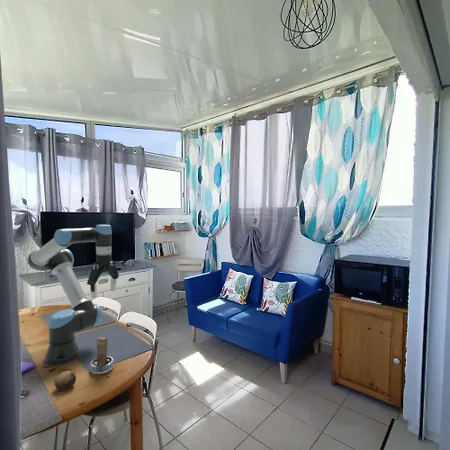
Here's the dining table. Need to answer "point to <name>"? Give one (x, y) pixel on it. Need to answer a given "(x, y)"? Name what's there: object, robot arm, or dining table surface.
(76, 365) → the dining table surface
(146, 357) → the dining table surface
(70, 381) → the brown oval lump
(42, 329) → the dining table surface
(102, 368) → the tin
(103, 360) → the brown wooden block
